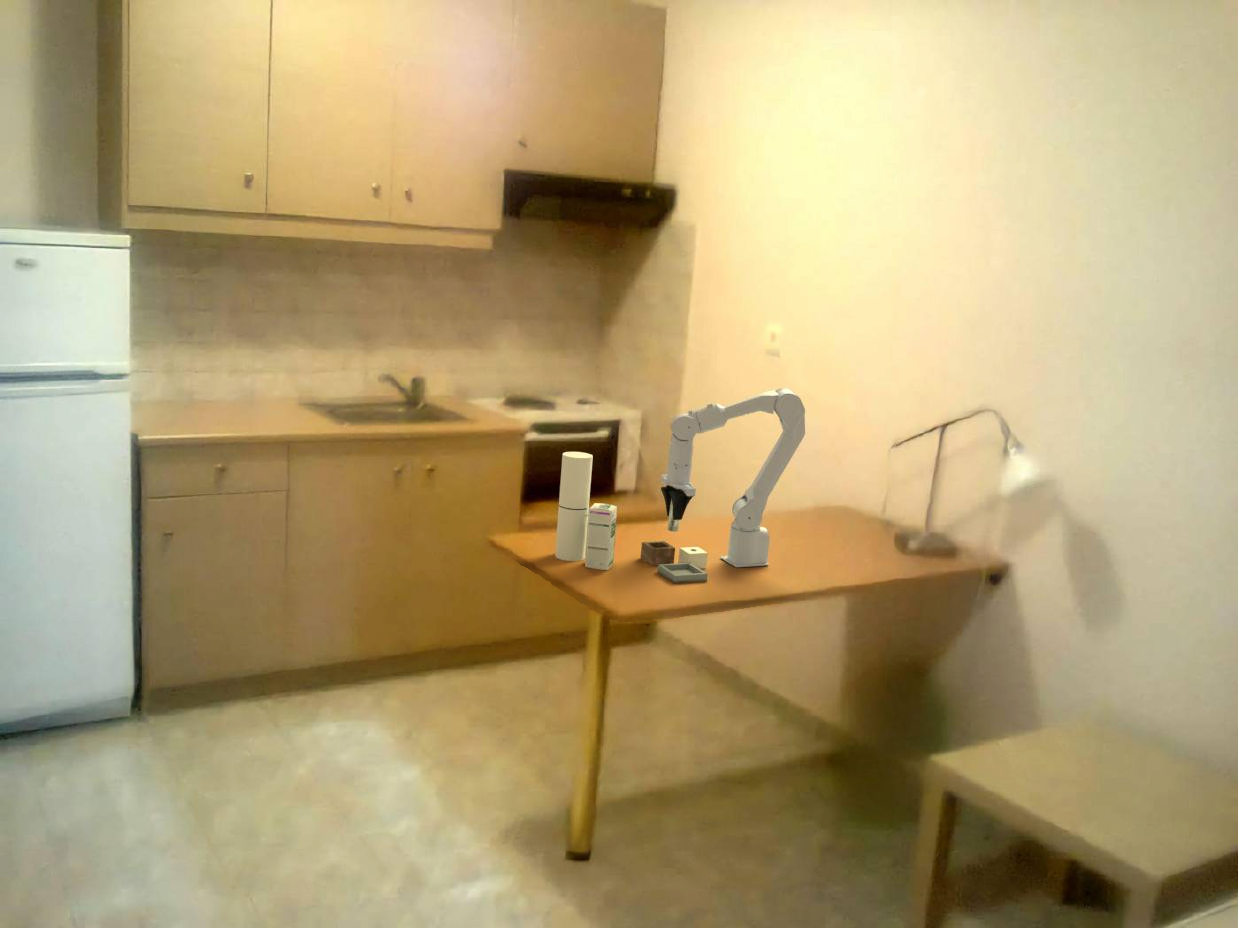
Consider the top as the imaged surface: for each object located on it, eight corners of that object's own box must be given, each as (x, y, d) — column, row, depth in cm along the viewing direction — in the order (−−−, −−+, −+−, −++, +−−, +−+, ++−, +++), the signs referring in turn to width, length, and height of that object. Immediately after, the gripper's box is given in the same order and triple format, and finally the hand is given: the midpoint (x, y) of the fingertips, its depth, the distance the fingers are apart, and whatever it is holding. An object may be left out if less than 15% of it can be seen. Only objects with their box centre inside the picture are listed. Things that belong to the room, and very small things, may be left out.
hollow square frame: (662, 556, 264) (663, 540, 263) (673, 563, 259) (675, 547, 258) (640, 557, 261) (641, 542, 260) (651, 565, 256) (653, 549, 255)
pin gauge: (675, 528, 264) (678, 496, 263) (680, 531, 262) (683, 499, 261) (665, 528, 263) (669, 497, 262) (670, 531, 261) (673, 499, 259)
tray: (689, 569, 255) (689, 562, 254) (706, 581, 247) (707, 573, 247) (657, 571, 251) (658, 564, 251) (674, 583, 244) (675, 575, 243)
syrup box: (608, 570, 249) (613, 510, 246) (583, 567, 250) (588, 507, 247) (613, 564, 254) (618, 505, 251) (589, 560, 255) (594, 501, 252)
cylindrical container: (548, 555, 257) (556, 453, 252) (570, 550, 262) (577, 450, 257) (569, 562, 252) (577, 459, 247) (590, 558, 258) (599, 456, 253)
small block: (696, 562, 262) (697, 546, 261) (706, 568, 257) (707, 552, 257) (678, 563, 260) (679, 547, 259) (687, 569, 255) (689, 553, 254)
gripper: (651, 457, 264) (646, 510, 267) (679, 470, 251) (673, 526, 254) (677, 457, 267) (671, 509, 270) (705, 470, 254) (699, 525, 257)
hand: (674, 517), depth 262 cm, fingers closed on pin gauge, 3 cm apart
